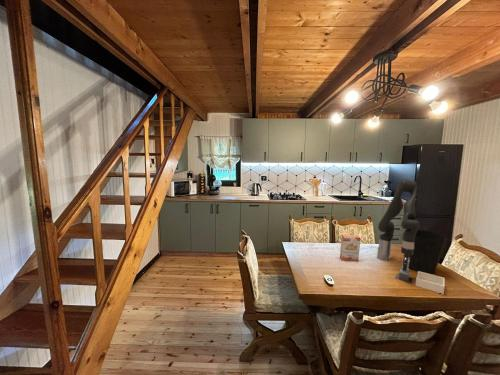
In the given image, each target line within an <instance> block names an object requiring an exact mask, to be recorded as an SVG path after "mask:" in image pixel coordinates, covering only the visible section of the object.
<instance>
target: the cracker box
mask: <svg viewBox="0 0 500 375" xmlns="http://www.w3.org/2000/svg"><path fill="white" fill-rule="evenodd" d="M340 241H341V243H340V252H339V253H340V254H339V259H340V260H341V261H351V262H359V258H360V248H361V237H360V236H359V235H354V234H353V235H351V234H342V235H341V240H340Z"/></svg>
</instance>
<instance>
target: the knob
mask: <svg viewBox="0 0 500 375" xmlns="http://www.w3.org/2000/svg"><path fill="white" fill-rule="evenodd" d="M401 260H402V261H403V257H402V258H401ZM407 262H408V261H407ZM409 262H410V260H409ZM404 264H406V263H404ZM408 267H409V263H408V264H407V270H406V271H403V262H402V266H401V268H400V270H399V273H398V274H399V279H402V280H406V281H408V280H409V277H410V272H411V271H410V270H409V268H408Z"/></svg>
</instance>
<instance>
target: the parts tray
mask: <svg viewBox="0 0 500 375" xmlns="http://www.w3.org/2000/svg"><path fill="white" fill-rule="evenodd" d="M445 278H446V277H442V276H439V275H435V274H433V275H432V274H428V273H424V272H420V271H418V272H417V275H416V278H415V286H416V287H417V288H418V287H419V288H423V289H425V290H429V291H433V292H435V293H438V294H439V293H442V294H443V295H444V292H445V288H446V287H445V285H446V284H445V283H446V279H445Z"/></svg>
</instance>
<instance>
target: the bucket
mask: <svg viewBox="0 0 500 375" xmlns="http://www.w3.org/2000/svg"><path fill="white" fill-rule="evenodd" d="M410 231H411V230H410V229H405V230H404V232H410ZM447 240H448V238H447V237H446V236H445V235H443V234H440V233H437V232H434V231H429V230H425V229H424V230H422V229H418V230H417V232H416V235H415V241H414V253H413V255H410V262H409V267H408V270H409V271H410V270H411V271H413V272H417V273H418V271H420V272H424V273H428V274H433V275H435V274H436V273H437V272H436V271H437V268H438V265H439V262H440V259H441V256H442V253H443V252H444V248H445V246H446V244H447V243H446V242H447Z"/></svg>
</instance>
